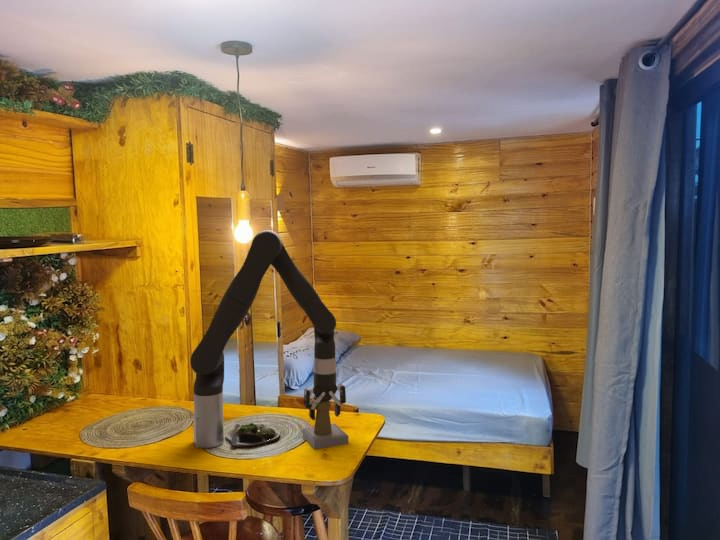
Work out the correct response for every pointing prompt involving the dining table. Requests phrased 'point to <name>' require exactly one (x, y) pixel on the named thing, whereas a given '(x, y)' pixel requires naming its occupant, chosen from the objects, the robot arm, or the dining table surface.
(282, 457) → the dining table surface
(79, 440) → the dining table surface
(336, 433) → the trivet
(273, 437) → the salad plate
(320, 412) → the brown pepper mill
